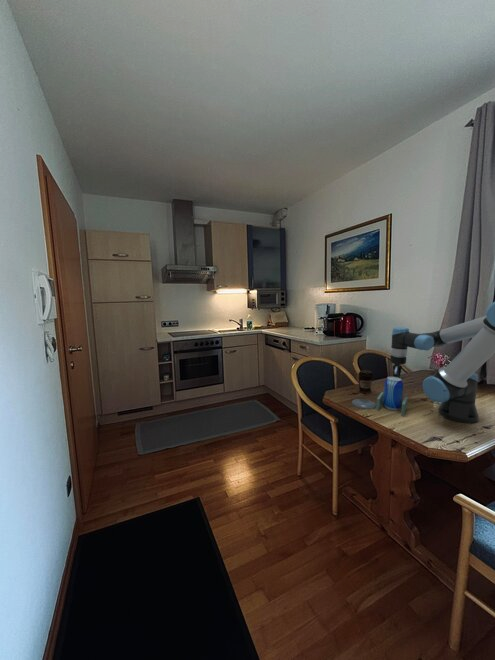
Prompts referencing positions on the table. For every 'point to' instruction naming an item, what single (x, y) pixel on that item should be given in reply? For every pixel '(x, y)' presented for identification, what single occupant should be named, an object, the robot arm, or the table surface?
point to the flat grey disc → (364, 404)
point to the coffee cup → (365, 381)
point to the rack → (381, 400)
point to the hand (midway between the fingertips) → (395, 396)
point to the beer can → (393, 393)
